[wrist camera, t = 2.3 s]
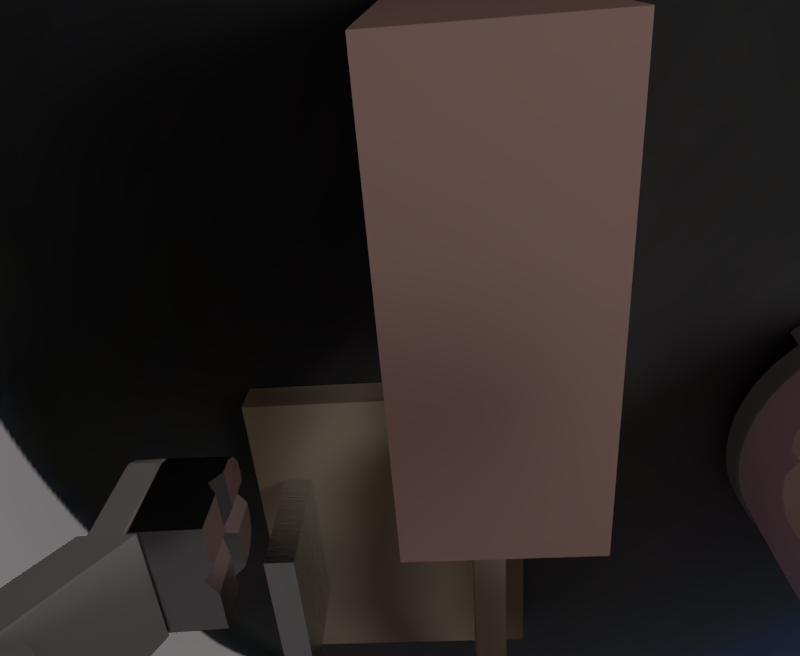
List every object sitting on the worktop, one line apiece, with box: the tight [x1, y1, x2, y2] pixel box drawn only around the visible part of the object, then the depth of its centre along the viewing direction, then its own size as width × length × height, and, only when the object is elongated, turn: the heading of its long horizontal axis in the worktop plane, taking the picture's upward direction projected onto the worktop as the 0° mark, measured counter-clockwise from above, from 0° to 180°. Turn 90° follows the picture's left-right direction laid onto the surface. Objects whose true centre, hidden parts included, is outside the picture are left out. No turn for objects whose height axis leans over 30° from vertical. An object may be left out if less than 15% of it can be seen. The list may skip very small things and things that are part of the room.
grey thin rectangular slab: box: [263, 479, 331, 656], centre depth 31 cm, size 1×7×5 cm, turn 4°
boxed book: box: [345, 0, 655, 562], centre depth 20 cm, size 5×12×14 cm, turn 4°
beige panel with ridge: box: [242, 382, 523, 656], centre depth 32 cm, size 12×15×6 cm
